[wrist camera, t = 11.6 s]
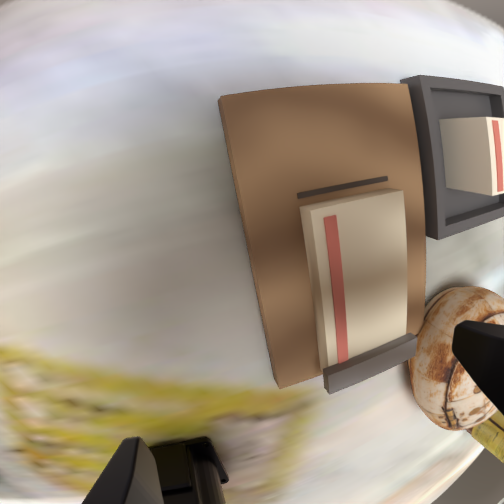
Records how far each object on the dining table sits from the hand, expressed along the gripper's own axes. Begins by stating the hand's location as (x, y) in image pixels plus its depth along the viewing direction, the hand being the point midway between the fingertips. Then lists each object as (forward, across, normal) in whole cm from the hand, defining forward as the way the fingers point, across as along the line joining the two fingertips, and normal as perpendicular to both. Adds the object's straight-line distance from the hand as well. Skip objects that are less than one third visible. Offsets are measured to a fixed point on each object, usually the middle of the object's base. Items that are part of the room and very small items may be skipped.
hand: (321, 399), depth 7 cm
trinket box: (+12, -18, +14) cm, 26 cm away
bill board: (+12, -7, 0) cm, 14 cm away
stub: (+11, -19, -4) cm, 23 cm away
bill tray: (+12, -19, -4) cm, 23 cm away
